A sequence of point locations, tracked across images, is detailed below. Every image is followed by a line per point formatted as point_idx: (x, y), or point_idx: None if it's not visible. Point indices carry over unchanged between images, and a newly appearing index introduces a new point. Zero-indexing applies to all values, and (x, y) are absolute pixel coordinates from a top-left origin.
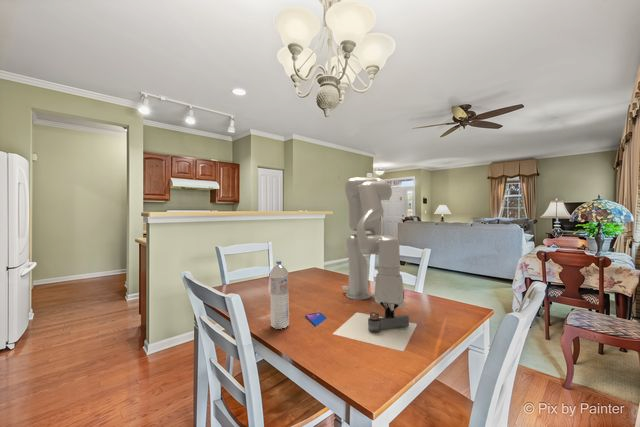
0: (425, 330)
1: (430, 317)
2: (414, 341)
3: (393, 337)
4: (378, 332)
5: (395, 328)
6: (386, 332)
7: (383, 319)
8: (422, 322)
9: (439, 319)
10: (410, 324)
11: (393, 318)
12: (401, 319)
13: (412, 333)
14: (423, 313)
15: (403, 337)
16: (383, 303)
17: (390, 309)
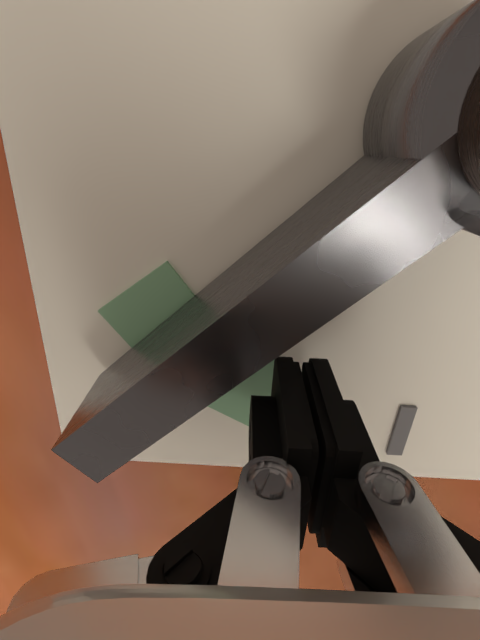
0: (13, 414)
1: None
2: (4, 171)
3: (177, 31)
4: None
5: None
6: (288, 146)
7: (372, 199)
8: (80, 516)
9: (3, 579)
10: None
11: (219, 316)
12: (132, 373)
13: (26, 254)
14: None
15: (67, 93)
16: (475, 582)
17: (295, 479)
